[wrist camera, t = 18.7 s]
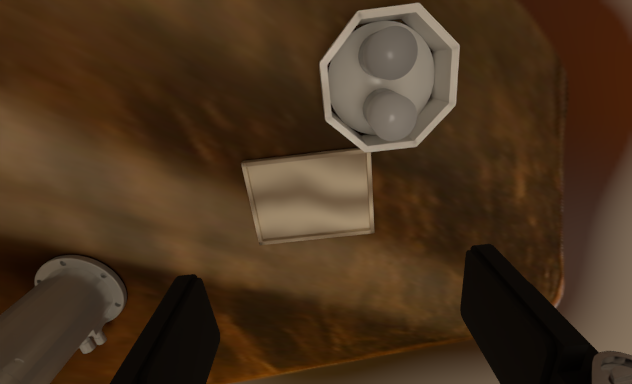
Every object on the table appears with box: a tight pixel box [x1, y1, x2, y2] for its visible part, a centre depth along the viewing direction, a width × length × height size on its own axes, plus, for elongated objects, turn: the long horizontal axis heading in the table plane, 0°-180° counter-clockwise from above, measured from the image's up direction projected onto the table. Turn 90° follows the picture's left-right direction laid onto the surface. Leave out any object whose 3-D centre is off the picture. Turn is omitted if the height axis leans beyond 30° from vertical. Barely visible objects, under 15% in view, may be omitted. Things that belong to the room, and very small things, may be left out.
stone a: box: [363, 88, 417, 141], centre depth 32 cm, size 4×4×6 cm
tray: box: [241, 148, 374, 245], centre depth 40 cm, size 12×16×1 cm
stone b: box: [358, 26, 418, 80], centre depth 30 cm, size 4×4×6 cm
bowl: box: [319, 3, 460, 153], centre depth 32 cm, size 13×13×5 cm
